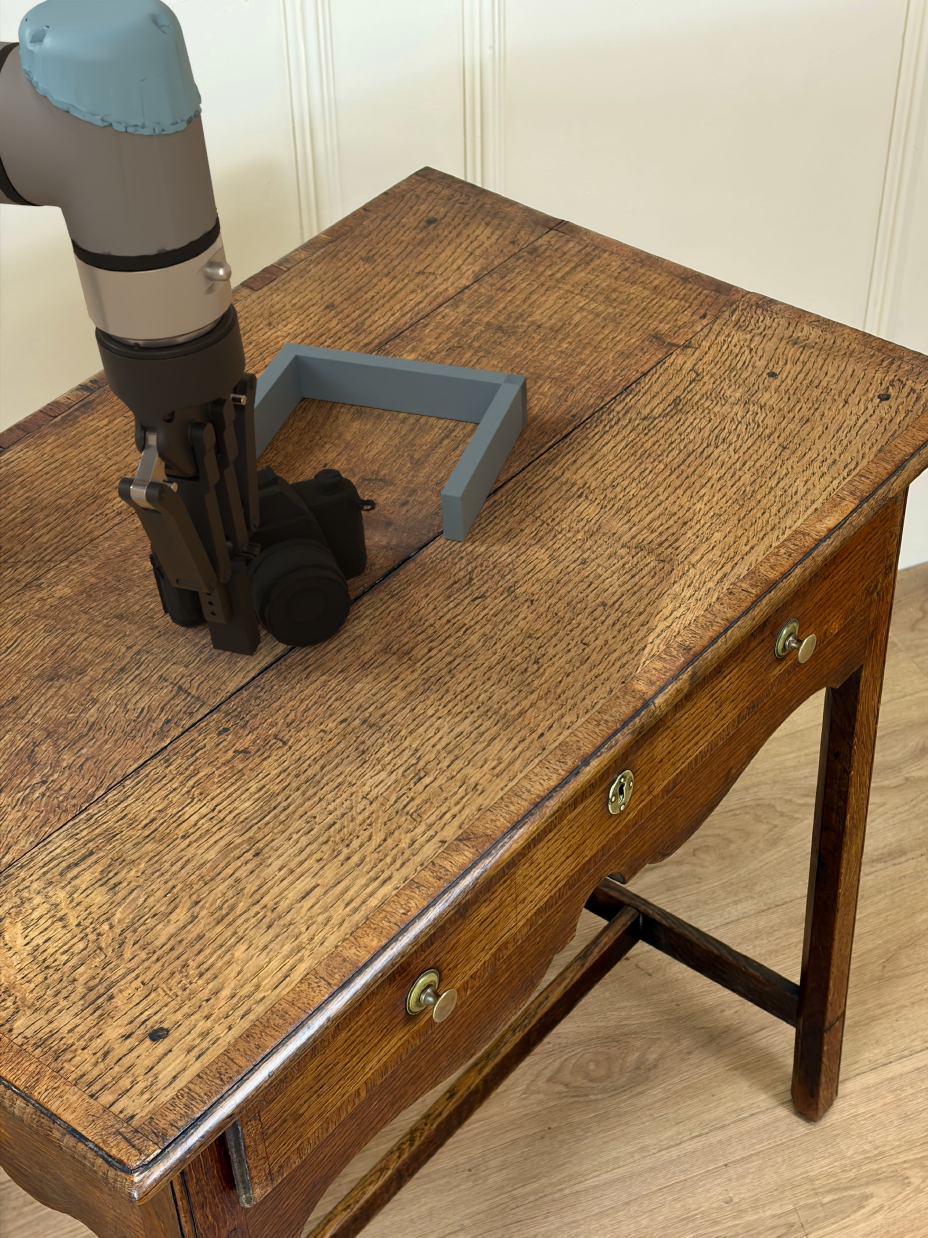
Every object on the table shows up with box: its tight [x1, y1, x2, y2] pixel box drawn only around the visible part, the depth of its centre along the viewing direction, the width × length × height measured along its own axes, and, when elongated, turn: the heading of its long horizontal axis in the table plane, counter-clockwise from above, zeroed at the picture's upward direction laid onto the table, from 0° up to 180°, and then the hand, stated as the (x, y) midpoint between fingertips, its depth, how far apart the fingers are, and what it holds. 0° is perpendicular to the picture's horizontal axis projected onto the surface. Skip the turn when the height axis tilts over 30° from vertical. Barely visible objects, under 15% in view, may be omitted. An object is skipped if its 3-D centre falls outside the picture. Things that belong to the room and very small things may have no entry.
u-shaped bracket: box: [254, 342, 528, 543], centre depth 110 cm, size 20×16×4 cm
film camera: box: [149, 464, 376, 648], centre depth 96 cm, size 15×10×9 cm, turn 115°
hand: (237, 645), depth 94 cm, fingers closed
